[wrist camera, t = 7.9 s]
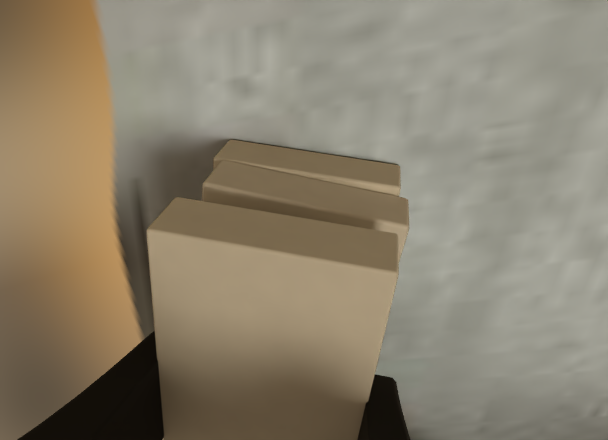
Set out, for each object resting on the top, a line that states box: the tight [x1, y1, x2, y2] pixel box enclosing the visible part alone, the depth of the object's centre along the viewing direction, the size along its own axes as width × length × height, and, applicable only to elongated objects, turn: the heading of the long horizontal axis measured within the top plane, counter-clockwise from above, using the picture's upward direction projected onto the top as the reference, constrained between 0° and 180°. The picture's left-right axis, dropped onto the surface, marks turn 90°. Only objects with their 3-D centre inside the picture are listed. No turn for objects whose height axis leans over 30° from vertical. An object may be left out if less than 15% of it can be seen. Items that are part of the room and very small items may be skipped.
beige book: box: [202, 161, 409, 261], centre depth 13 cm, size 9×5×1 cm, turn 172°
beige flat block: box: [213, 140, 401, 197], centre depth 14 cm, size 9×5×1 cm, turn 175°
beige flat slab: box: [147, 197, 399, 440], centre depth 11 cm, size 9×5×1 cm, turn 174°
